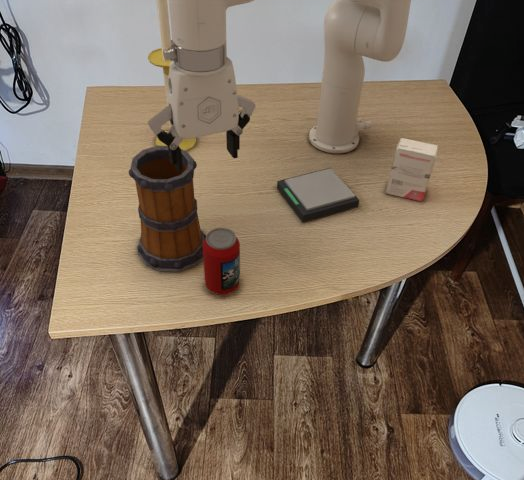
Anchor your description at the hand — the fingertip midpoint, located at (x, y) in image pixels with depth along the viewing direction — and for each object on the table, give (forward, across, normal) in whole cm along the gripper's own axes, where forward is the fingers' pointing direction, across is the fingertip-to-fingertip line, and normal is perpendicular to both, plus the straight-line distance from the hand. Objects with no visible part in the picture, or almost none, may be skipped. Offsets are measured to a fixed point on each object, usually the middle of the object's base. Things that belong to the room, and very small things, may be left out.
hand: (205, 160), depth 91 cm
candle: (+24, +8, +44) cm, 51 cm away
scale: (+24, +30, +11) cm, 40 cm away
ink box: (+24, +50, +5) cm, 56 cm away
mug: (+24, -5, +10) cm, 27 cm away
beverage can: (+24, 0, -6) cm, 25 cm away
